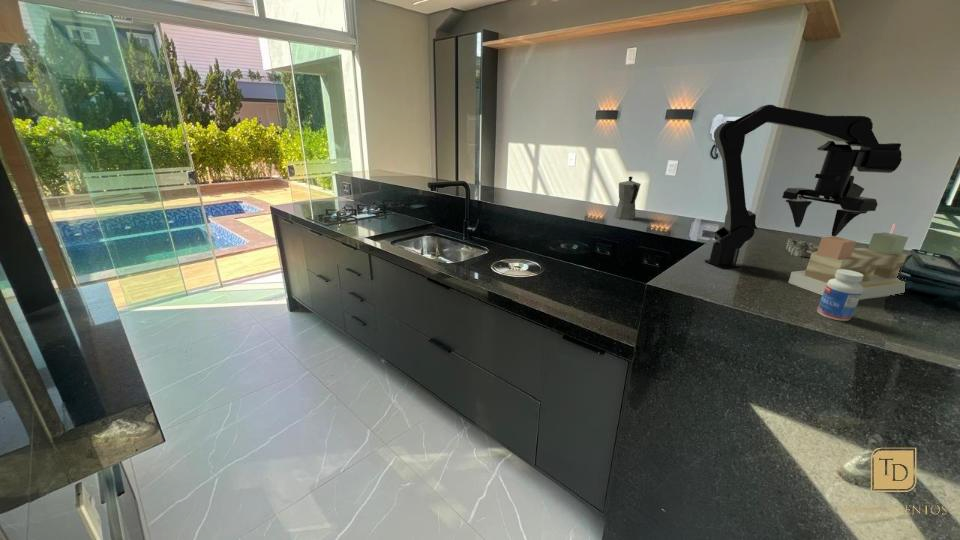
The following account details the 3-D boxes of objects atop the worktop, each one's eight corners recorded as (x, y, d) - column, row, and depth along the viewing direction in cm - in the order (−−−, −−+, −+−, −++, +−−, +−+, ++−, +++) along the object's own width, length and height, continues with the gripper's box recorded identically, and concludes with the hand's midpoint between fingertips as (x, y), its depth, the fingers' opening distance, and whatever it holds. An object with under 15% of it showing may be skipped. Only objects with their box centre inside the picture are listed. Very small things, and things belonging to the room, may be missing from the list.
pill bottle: (809, 310, 81) (824, 267, 78) (832, 309, 81) (848, 267, 78) (834, 322, 76) (851, 277, 72) (858, 321, 76) (876, 277, 73)
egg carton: (819, 260, 114) (824, 247, 112) (788, 256, 117) (792, 243, 116) (812, 251, 122) (816, 239, 121) (784, 247, 126) (787, 236, 125)
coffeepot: (609, 214, 174) (615, 174, 167) (630, 214, 173) (636, 175, 167) (620, 221, 159) (626, 178, 153) (642, 222, 159) (649, 179, 153)
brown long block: (833, 285, 86) (842, 260, 84) (804, 275, 92) (812, 252, 90) (897, 277, 91) (907, 254, 89) (865, 268, 97) (874, 246, 95)
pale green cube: (889, 254, 89) (896, 238, 88) (867, 248, 93) (873, 233, 92) (901, 253, 90) (908, 237, 89) (878, 247, 94) (885, 232, 93)
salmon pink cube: (837, 259, 85) (843, 242, 84) (816, 253, 89) (821, 237, 88) (850, 258, 86) (856, 241, 85) (828, 252, 90) (834, 236, 89)
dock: (840, 302, 85) (845, 289, 84) (788, 282, 96) (791, 271, 95) (908, 293, 90) (913, 281, 89) (851, 275, 101) (855, 264, 100)
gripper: (907, 174, 86) (879, 240, 92) (821, 167, 103) (803, 222, 109) (871, 175, 84) (845, 241, 89) (789, 166, 101) (772, 223, 106)
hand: (814, 231), depth 99 cm, fingers open, 9 cm apart
